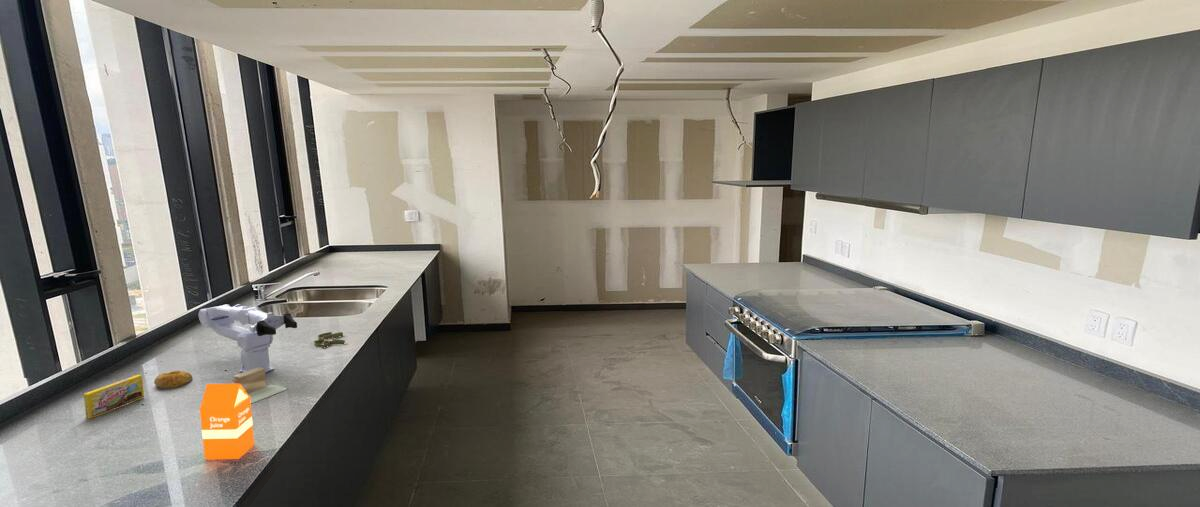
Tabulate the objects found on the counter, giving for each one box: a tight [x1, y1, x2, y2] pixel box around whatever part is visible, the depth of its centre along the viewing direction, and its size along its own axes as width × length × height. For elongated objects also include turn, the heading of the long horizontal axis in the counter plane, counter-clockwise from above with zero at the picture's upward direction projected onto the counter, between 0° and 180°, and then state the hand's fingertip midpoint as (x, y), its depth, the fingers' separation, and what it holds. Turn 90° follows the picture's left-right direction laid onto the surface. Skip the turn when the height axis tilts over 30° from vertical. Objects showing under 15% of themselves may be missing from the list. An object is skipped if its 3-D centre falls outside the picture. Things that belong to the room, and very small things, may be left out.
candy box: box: [83, 374, 145, 419], centre depth 171 cm, size 16×2×8 cm, turn 168°
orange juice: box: [199, 383, 255, 460], centre depth 146 cm, size 8×9×20 cm
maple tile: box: [232, 367, 267, 394], centre depth 186 cm, size 3×9×7 cm, turn 156°
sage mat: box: [248, 384, 288, 405], centre depth 184 cm, size 8×13×1 cm, turn 156°
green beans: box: [313, 331, 346, 349], centre depth 239 cm, size 18×12×2 cm, turn 28°
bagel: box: [153, 370, 193, 389], centre depth 190 cm, size 10×11×5 cm
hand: (285, 328), depth 191 cm, fingers open, 7 cm apart
